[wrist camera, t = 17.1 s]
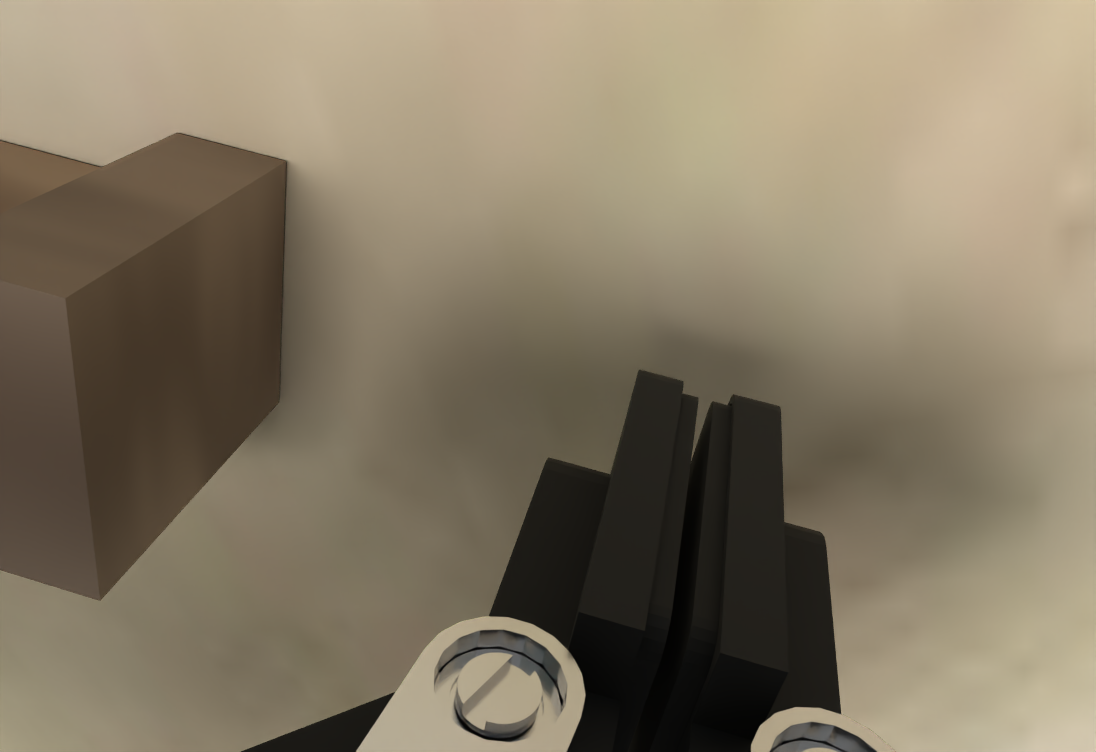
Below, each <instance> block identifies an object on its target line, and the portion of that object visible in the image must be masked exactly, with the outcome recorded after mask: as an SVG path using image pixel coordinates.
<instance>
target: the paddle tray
mask: <svg viewBox="0 0 1096 752" xmlns="http://www.w3.org/2000/svg"><path fill="white" fill-rule="evenodd" d="M285 183H286V161H283V160H280V159H276V158H272V157H268V156H264V155H260V154H256V153H253V152H249V151H245V150H241V149H237V148H233V147H229V146H225V145H222V144H218V143H214V142H210V141H206V140H202V139H198V138H194V137H191V136H187V135H183V134H179V133H176V134H173V135H171V136H169V137H167V138H165V139H162V140H160V141H158V142H156V143H154V144H151V145H149V146H147V147H145V148H143V149H140V150H138V151H136V152H134V153H132V154H130V155H127V156H125V157H123V158H121V159H119V160H116V161H114V162H112V163H110V164H108V165H105V166H103V167H97V166H94V165H90V164H86V163H82V162H78V161H75V160H71V159H67V158H63V157H59V156H56V155H52V154H48V153H44V152H40V151H37V150H33V149H29V148H25V147H21V146H18V145H14V144H10V143H6V142H2V141H0V570H2V571H5V572H8V573H11V574H15V575H18V576H21V577H25V578H28V579H31V580H34V581H38V582H41V583H44V584H47V585H51V586H54V587H57V588H60V589H64V590H67V591H70V592H73V593H77V594H80V595H83V596H86V597H90V598H93V599H96V600H99V601H100V600H101V599H102V598H103V597H104V596H105V595H106V594H107V593H108V591H109V590H110V589H111V588H112V587H113V586H114V585H115V584H116V583H117V581H118V580H119V579H120V578H121V577H122V576H123V575H124V574H125V573H126V572H127V570H128V569H129V568H130V567H131V566H132V565H133V564H134V563H135V562H136V560H137V559H138V558H139V557H140V556H141V555H142V554H143V553H144V552H145V550H146V549H147V548H148V547H149V546H150V545H151V544H152V543H153V542H154V540H155V539H156V538H157V537H158V536H159V535H160V534H161V533H162V532H163V530H164V529H165V528H166V527H167V526H168V525H169V524H170V523H171V522H172V520H173V519H174V518H175V517H176V516H177V515H178V514H179V513H180V512H181V510H182V509H183V508H184V507H185V506H186V505H187V504H188V503H189V502H190V500H191V499H192V498H193V497H194V496H195V495H196V494H197V493H198V492H199V490H200V489H201V488H202V487H203V486H204V485H205V484H206V483H207V482H208V480H209V479H210V478H211V477H212V476H213V475H214V474H215V473H216V472H217V470H218V469H219V468H220V467H221V466H222V465H223V464H224V463H225V462H226V461H227V459H228V458H229V457H230V456H231V455H232V454H233V453H234V452H235V451H236V449H237V448H238V447H239V446H240V445H241V444H242V443H243V442H244V441H245V439H246V438H247V437H248V436H249V435H250V434H251V433H252V432H253V431H254V429H255V428H256V427H257V426H258V425H259V424H260V423H261V422H262V421H263V419H264V418H265V417H266V416H267V415H268V414H269V413H270V412H271V411H272V409H273V408H274V407H275V406H276V405H277V404H278V403H279V385H280V351H281V318H282V284H283V250H284V216H285Z"/></svg>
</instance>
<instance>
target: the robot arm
mask: <svg viewBox="0 0 1096 752" xmlns="http://www.w3.org/2000/svg"><path fill="white" fill-rule="evenodd" d="M683 384H684V382H683V381H681V380H677V379H673V378H669V377H666V376H662V375H658V374H654V373H650V372H647V371H643V370H639V371H638V375H637V379H636V382H635V386H634V390H633V393H632V397H631V401H630V404H629V408H628V412H627V415H626V419H625V423H624V426H623V430H622V434H621V437H620V441H619V445H618V448H617V452H616V456H615V459H614V463H613V467H612V470H611V474H607V473H603V472H599V471H596V470H592V469H588V468H585V467H581V466H577V465H574V464H570V463H567V462H563V461H559V460H556V459H552V458H548V459H547V460H546V463H545V465H544V468H543V470H542V473H541V476H540V479H539V481H538V484H537V487H536V489H535V492H534V495H533V498H532V500H531V503H530V506H529V508H528V511H527V514H526V517H525V519H524V522H523V525H522V528H521V530H520V533H519V536H518V538H517V541H516V544H515V547H514V549H513V552H512V555H511V557H510V560H509V563H508V566H507V568H506V571H505V574H504V577H503V579H502V582H501V585H500V587H499V590H498V593H497V596H496V598H495V601H494V604H493V606H492V609H491V612H490V615H489V616H483V617H478V618H473V619H469V620H464V621H460V622H458V623H456V624H454V625H453V626H451V627H449V628H447V629H445V630H443V631H441V632H440V633H439V634H438V635H437V636H436V637H435V638H434V639H433V640H432V641H431V642H430V643H429V644H428V645H427V646H426V647H425V648H424V650H423V651H422V653H421V654H420V656H419V657H418V659H417V660H416V662H415V663H414V665H413V666H412V668H411V669H410V671H409V672H408V674H407V676H406V677H405V679H404V680H403V682H402V683H401V685H400V686H399V688H398V689H397V691H396V692H394V693H392V694H389V695H386V696H384V697H381V698H379V699H376V700H374V701H371V702H368V703H366V704H363V705H361V706H358V707H355V708H353V709H350V710H348V711H345V712H342V713H340V714H337V715H335V716H332V717H330V718H327V719H324V720H322V721H319V722H317V723H314V724H311V725H309V726H306V727H304V728H301V729H298V730H296V731H293V732H291V733H288V734H285V735H283V736H280V737H278V738H275V739H273V740H270V741H267V742H265V743H262V744H260V745H257V746H254V747H252V748H249V749H247V750H244V751H241V752H895V751H894V749H893V748H892V747H890V746H889V745H888V744H887V743H886V742H885V741H883V740H882V739H881V738H880V737H879V736H877V735H876V734H875V733H874V732H873V731H871V730H870V729H869V728H867V727H865V726H863V725H861V724H859V723H858V722H856V721H854V720H852V719H850V718H849V717H847V716H845V715H842V714H841V707H840V696H839V685H838V673H837V662H836V651H835V640H834V629H833V617H832V606H831V595H830V584H829V573H828V561H827V550H826V543H825V538H824V536H823V535H822V533H821V532H818V531H814V530H811V529H807V528H803V527H800V526H796V525H792V524H789V523H785V522H784V502H783V467H782V432H781V409H780V407H779V406H776V405H772V404H768V403H765V402H761V401H757V400H753V399H749V398H745V397H742V396H738V395H734V394H733V396H732V397H731V399H730V401H729V403H728V405H724V404H720V403H717V402H712V403H711V405H710V407H709V410H708V413H707V416H706V419H705V422H704V425H703V428H702V431H701V434H700V437H699V440H698V443H697V446H696V449H695V452H694V455H693V458H692V461H691V456H692V448H693V440H694V432H695V424H696V416H697V408H698V397H694V396H690V395H686V394H682V391H683Z"/></svg>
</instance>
